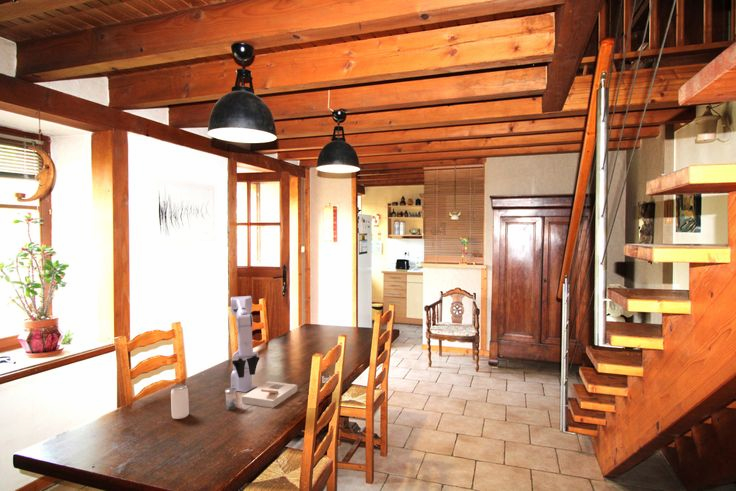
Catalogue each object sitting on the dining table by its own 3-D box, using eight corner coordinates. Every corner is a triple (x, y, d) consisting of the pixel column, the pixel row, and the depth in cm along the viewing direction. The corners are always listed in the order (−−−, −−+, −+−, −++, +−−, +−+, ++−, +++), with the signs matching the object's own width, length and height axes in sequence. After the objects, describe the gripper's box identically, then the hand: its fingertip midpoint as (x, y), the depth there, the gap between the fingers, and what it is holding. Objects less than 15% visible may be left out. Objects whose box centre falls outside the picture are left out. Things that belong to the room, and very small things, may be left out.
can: (172, 420, 173) (171, 391, 173) (171, 414, 179) (170, 386, 178) (189, 417, 176) (188, 388, 176) (188, 411, 182) (187, 383, 181)
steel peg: (223, 409, 183) (222, 391, 183) (230, 405, 187) (229, 387, 187) (232, 411, 181) (231, 392, 181) (239, 406, 186) (238, 388, 185)
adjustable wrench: (316, 398, 195) (316, 394, 195) (302, 397, 196) (302, 393, 196) (334, 379, 219) (334, 375, 219) (322, 378, 221) (322, 374, 220)
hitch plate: (241, 403, 189) (241, 396, 189) (268, 387, 208) (268, 381, 208) (273, 407, 184) (272, 400, 184) (297, 391, 202) (297, 384, 202)
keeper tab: (261, 391, 187) (261, 389, 188) (270, 392, 194) (270, 390, 194) (268, 392, 186) (269, 390, 186) (277, 393, 193) (278, 391, 193)
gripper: (242, 344, 176) (244, 378, 174) (263, 341, 190) (264, 373, 188) (228, 345, 179) (229, 379, 177) (249, 342, 192) (251, 373, 190)
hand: (246, 376), depth 182 cm, fingers open, 7 cm apart
